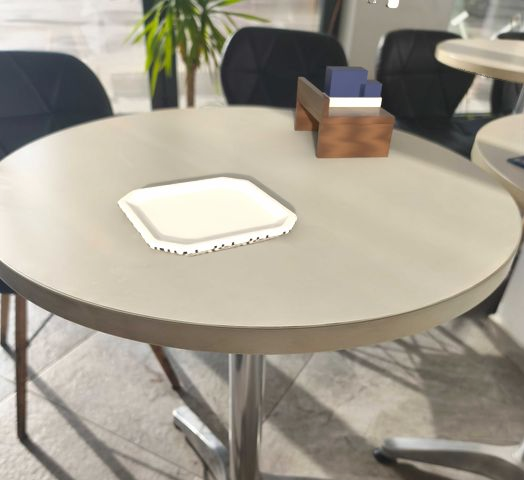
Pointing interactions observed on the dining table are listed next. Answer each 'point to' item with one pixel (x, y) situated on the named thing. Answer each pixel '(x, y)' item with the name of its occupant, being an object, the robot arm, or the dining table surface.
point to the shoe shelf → (342, 125)
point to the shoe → (351, 87)
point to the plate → (205, 215)
